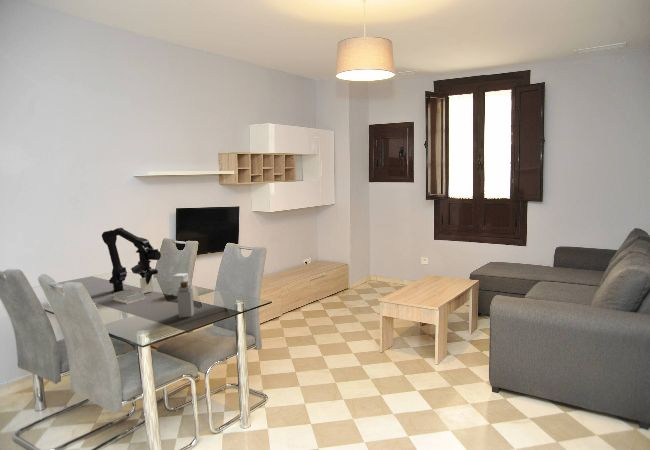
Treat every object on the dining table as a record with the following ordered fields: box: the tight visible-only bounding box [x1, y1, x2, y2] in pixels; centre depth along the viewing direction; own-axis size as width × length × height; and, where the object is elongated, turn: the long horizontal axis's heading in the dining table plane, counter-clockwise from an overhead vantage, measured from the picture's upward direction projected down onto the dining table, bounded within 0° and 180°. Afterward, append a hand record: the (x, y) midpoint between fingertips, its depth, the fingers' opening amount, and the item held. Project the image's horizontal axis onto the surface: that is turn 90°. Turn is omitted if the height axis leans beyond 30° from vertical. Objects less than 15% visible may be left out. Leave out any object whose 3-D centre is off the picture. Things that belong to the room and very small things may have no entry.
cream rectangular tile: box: [139, 276, 154, 294], centre depth 311 cm, size 2×7×9 cm, turn 142°
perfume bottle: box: [176, 282, 195, 318], centre depth 264 cm, size 7×7×18 cm
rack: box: [112, 288, 146, 305], centre depth 298 cm, size 15×12×4 cm
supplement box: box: [172, 272, 190, 297], centre depth 305 cm, size 7×7×13 cm
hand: (146, 283), depth 311 cm, fingers closed on cream rectangular tile, 2 cm apart
